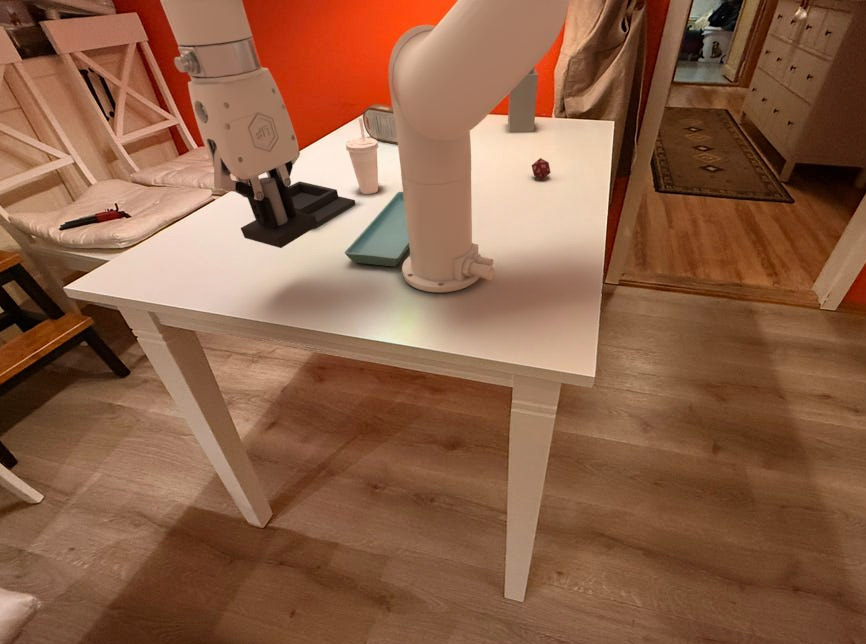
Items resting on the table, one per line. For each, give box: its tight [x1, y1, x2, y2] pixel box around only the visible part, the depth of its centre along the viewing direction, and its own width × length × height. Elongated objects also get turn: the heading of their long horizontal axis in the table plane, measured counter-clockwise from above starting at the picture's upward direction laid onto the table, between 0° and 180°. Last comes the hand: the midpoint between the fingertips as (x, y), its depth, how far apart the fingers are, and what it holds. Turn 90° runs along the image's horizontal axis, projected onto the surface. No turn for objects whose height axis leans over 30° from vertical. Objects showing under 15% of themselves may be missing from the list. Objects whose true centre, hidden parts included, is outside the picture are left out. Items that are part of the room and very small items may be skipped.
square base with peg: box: [240, 176, 319, 249], centre depth 61 cm, size 7×7×7 cm
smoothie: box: [345, 118, 379, 195], centre depth 93 cm, size 6×6×14 cm
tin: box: [362, 103, 398, 145], centre depth 120 cm, size 15×3×8 cm, turn 58°
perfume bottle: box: [507, 66, 539, 133], centre depth 122 cm, size 7×7×18 cm
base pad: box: [288, 181, 356, 230], centre depth 91 cm, size 14×12×3 cm
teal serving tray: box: [344, 191, 410, 267], centre depth 82 cm, size 26×9×2 cm, turn 167°
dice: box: [531, 157, 551, 181], centre depth 99 cm, size 4×4×4 cm
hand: (277, 219), depth 62 cm, fingers closed on square base with peg, 2 cm apart
